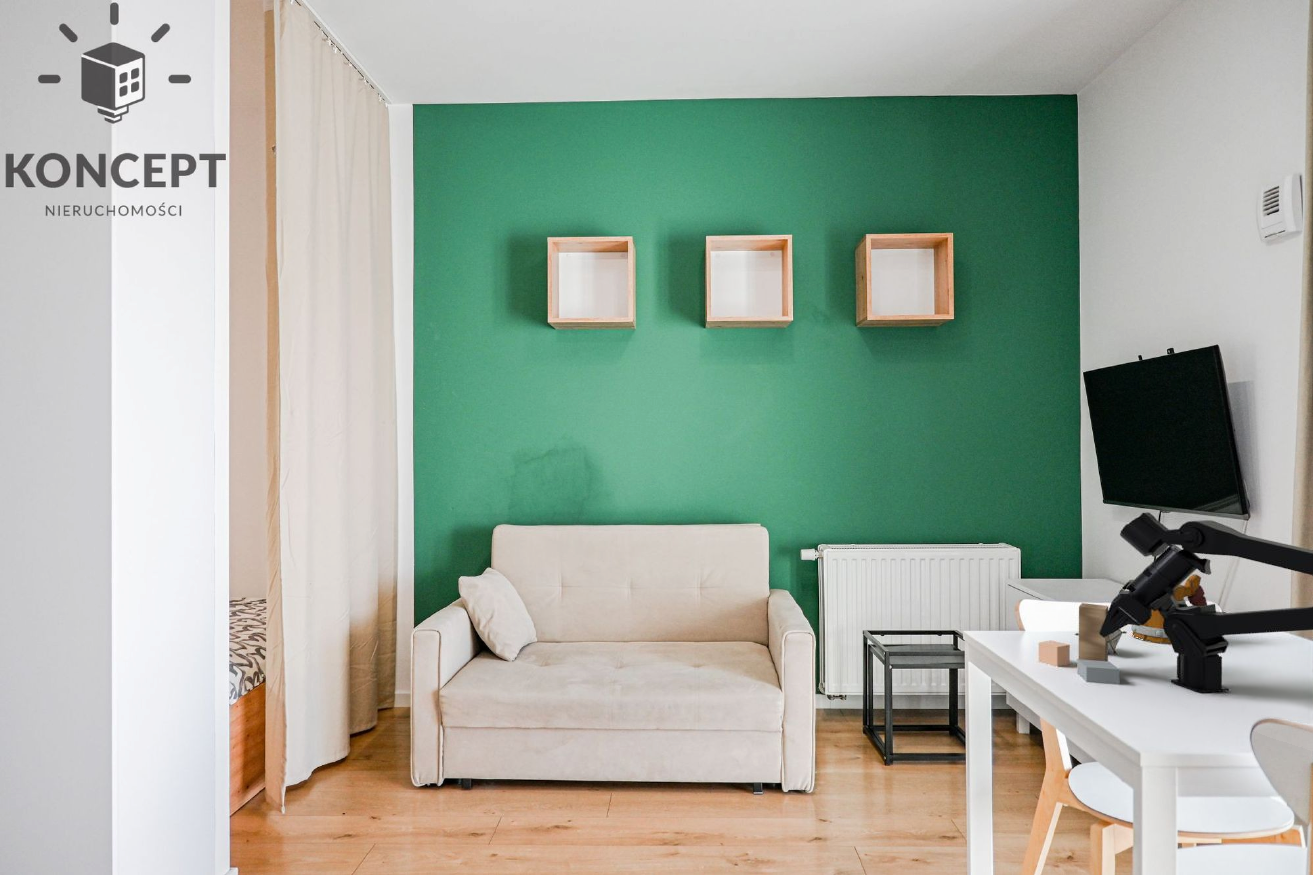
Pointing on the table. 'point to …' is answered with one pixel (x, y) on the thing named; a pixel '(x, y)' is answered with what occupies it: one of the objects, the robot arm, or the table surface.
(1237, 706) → the table surface
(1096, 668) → the slate block
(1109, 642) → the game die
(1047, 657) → the clay block
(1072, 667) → the table surface
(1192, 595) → the mug
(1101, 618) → the walnut block
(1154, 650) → the table surface
